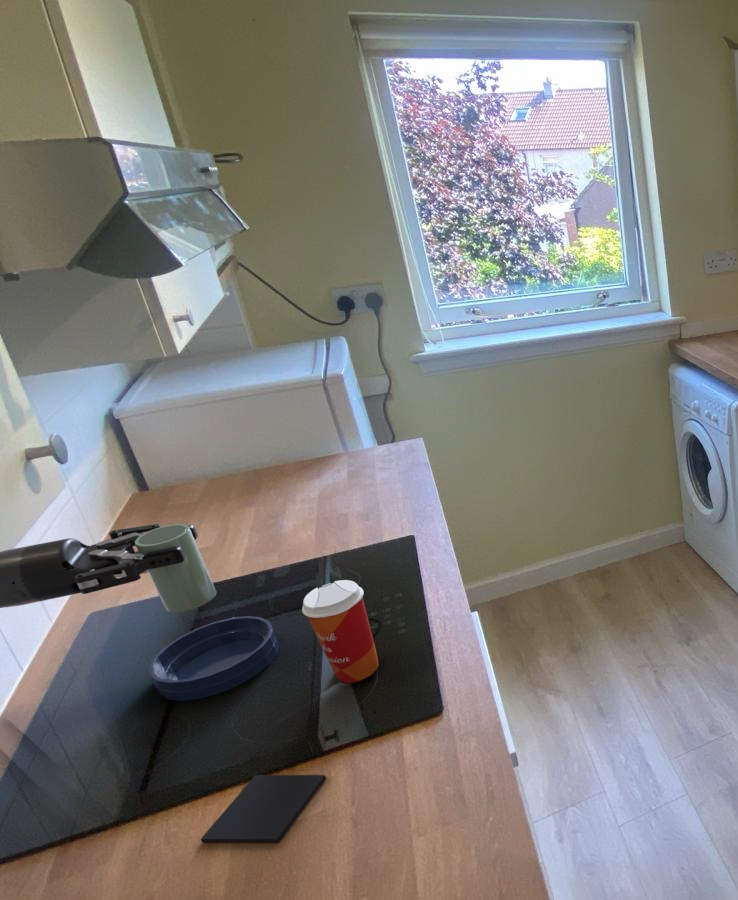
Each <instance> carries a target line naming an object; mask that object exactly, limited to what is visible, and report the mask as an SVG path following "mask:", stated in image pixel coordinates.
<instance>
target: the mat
mask: <svg viewBox="0 0 738 900" xmlns="http://www.w3.org/2000/svg"><path fill="white" fill-rule="evenodd" d="M326 779H327V776H326V775H325V774H255V775H254V776H252V778H251V779H250V780H249V781H248V783H247V784H246V785H245V786H244V787H243V789H242V790H241V791H240V792H239V793H238V795H237V796H236V797H235V798H234V799H233V801H232V802H231V803H230V804H229V805H228V806H227V808H226V809H225V810H224V811H223V812H222V813H221V814H220V816H219V817H218V818H217V819H216V820H215V822H213V824H212V825H211V826H210V827H209V829H207V831H206V832H205V833H204V834H203V835H202V836H201V838H200V841H201V843H268V844H269V843H270V844H271V843H273V844H274V843H275V844H276V843H277V844H278V843H279V842H280V841H281V840H282V838H284V836H285V834H286V833H287V832H288V830H289V829H290V827H292V825H293V823H294V822H295V821H296V820H297V818H298V817H299V816H300V814H301V813H302V811H304V809H305V807H306V806H307V805H308V804H309V802H310V800H311V799H312V798H313V796H315V794H316V793H317V792H318V790H319V789H320V788H321V786H322V785H323V784H324V782H325V781H326Z"/></svg>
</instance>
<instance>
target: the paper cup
mask: <svg viewBox="0 0 738 900" xmlns="http://www.w3.org/2000/svg"><path fill="white" fill-rule="evenodd" d="M364 595H365V594H364V589H363V588H362V587H360V586H359V585H358V583H357V582H355V581H353V580H349V579H342V580H341V579H340V580H339V579H338V580H335V581H334V582H332V583H331V582H329V583H326V584H323V585H321V587H319V588H318V586H317V587H315V588H314V589H312V590H311V591H310V592H308V593H307V594H306V595H305V597H304V599H303V602H302V608H301V612H302V614H303V615H304V616H306V617H307V619H308V621H309V623H310V625H311V628H312V629H313V631H314V633H315V635H316V638H317V640H318V642H319V645H320V647H321V649H322V650H323V654H325V657H326V659H327V661H328V663H329V665H330V667H331V669H332V671H333V673H334V675H335V677H336V678H337V679H338V680H339V682H340V683H343V684H353V683H357V682H360V681H363V680H365V679H367V678H368V677H370V676H372V675H373V674H374V673H375V672H376V671H377V669H378V668H379V658H378V657H379V656H378V653H377V649H376V645H375V641H374V637H373V633H372V629H371V625H370V621H369V617H368V613H367V609H366V605H365V602H364Z"/></svg>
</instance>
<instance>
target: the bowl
mask: <svg viewBox="0 0 738 900" xmlns="http://www.w3.org/2000/svg"><path fill="white" fill-rule="evenodd" d="M279 649H280V643H279V640H278V638H277V635H276V633H275V630H274V628H273V626H272V623H271V621H269V620H267V619H265V618H263V617H261V616H254V615H253V616H252V615H246V616H245V615H244V616H236V617H229V618H226V619H225V618H224V619H221V620H217V621H213V622H211V623H208V624H205V625H202V626H200V627H197V628H195V629H193V630H191V631H189V632H186V633H185V634H183V635H181V636H179V637H177V638H175V639H174V640H173V641H172V642H170V643H168V644H167V645H166V646H164V647H163V648H162V649H161V650H160V651H159V652H158V653H157V654H156V655H154V657H153V658H152V661H151V662H150V663H149V666H148V673H149V677H150V679H151V681H152V683H153V685H154V687H155V689H156V691H157V693H158V695H161V696H162V697H163V698H164V699H166V700H170V701H176V702H187V701H194V700H195V701H196V700H201V699H204V698H208V697H212V696H216V695H219V694H222V693H224V692H226V691H227V692H228V691H229V690H231V689H233V688H237V687H238V686H240V685H242V684H243V683H245V682H247V681H249V680H251V679H252V678H254V677H256V676H257V675H258V674H259V673H261V672H262V671H264V669H266V668H267V667H268V666H269V665H271V663H272V662H273V661H274V659H275V658H276V657H277V656H278V653H279Z"/></svg>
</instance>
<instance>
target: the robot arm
mask: <svg viewBox="0 0 738 900" xmlns="http://www.w3.org/2000/svg"><path fill="white" fill-rule="evenodd" d="M188 526H189V527H190V530H191V532H192V534H193V537H194V539H195V541H197V538H198V536H199V535H198V532H197V530H196V528H195V526H194V525H192V524H189V525H188ZM159 527H161V525H160V524H159V523H154V524H147V525H140V526H134V527H127V528H121V529H114V530H111V531H110V532H108V535H109V537H110V538H108V539H105V540H102V541H98V542H96V543H93V544H91V545H87V544H85V543H83V542H81V541H80V540H78V539H76V538H63V539H58V540H53V541H47V542H42V543H37V544H32V545H27V546H21V547H17V548H16V547H15V548H11V549H6V550H1V551H0V609H2V608H3V609H4V608H12V607H13V608H14V607H21V606H25V605H30V604H34V603H38V602H45V601H48V600H49V601H50V600H54V599H57V598H62V597H67V596H73V595H77V594H82V595H86V594H87V595H88V594H91V593H95V592H99V591H102V590H106V589H111V588H114V587H118V586H121V585H125V584H130V583H133V582H137V581H139V580H141V578H142V577H141V575H143V574H144V575H145V574H147V573H148V572H149V571H151V568H152V569H154V568H159V567H163V566H168V565H173V564H178V563H182V562H183V561H184V559H185V555H184V553H183V551H182V549H181V548H180V547H173V548H168V549H163V550H158V551H153V552H148V553H146V556H145V555H144V554H140V553H139V551H138V549H137V550H136V551H135V548H134V547H136V545H135V540H136V539H137V538H138V537H139V536H141V535H143V534H144V533H146V532H149V531H151V530H153V529H156V528H159Z"/></svg>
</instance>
